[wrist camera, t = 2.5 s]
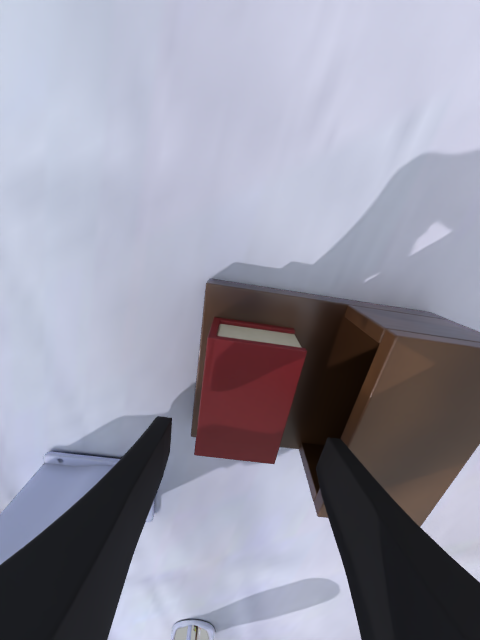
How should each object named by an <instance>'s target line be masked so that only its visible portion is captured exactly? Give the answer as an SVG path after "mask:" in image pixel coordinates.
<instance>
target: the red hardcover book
mask: <svg viewBox="0 0 480 640" xmlns="http://www.w3.org/2000/svg"><path fill="white" fill-rule="evenodd" d="M294 334H295V330H294V328H287V327H280V326H273V325H266V324H259V323H252V322H245V321H238V320H231V319H225V318H218V317H214V319H213V322H212V325H211V328H210V332H209V335H208V338H207V346H206V355H205V364H204V372H203V381H202V390H201V399H200V408H199V417H198V426H197V435H196V443H195V452H194V455H198V456H207V457H216V458H225V459H234V460H243V461H251V462H260V463H269V464H274V463H275V460H276V457H277V453H278V450H279V446H280V443H281V439H282V436H283V433H284V429H285V426H286V422H287V419H288V416H289V412H290V409H291V405H292V402H293V398H294V395H295V392H296V388H297V385H298V381H299V378H300V374H301V371H302V368H303V364H304V361H305V357H306V354H307V350H306V349H305V348H302V347H301V346H300V344H299V342H298V340H297V338H296V336H295V335H294Z"/></svg>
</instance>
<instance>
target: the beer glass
mask: <svg viewBox="0 0 480 640" xmlns="http://www.w3.org/2000/svg"><path fill="white" fill-rule="evenodd" d="M214 636H215V629H214V627H213V626H212V625H211V624H209V623H207V622H205V621H201V620H184V621H180V622H178V623H176V624H175V625H174V626H173V628H172V633H171V640H214Z"/></svg>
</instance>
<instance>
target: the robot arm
mask: <svg viewBox="0 0 480 640" xmlns="http://www.w3.org/2000/svg"><path fill="white" fill-rule="evenodd" d="M171 425H172V418H167V417H159V416H158V417H157V418H155V420H154V421H153V422H152V424H151V425H150V426H149V427H148V429H147V430H146V431H145V432H144V433H143V435H142V436H141V437H140V438H139V439H138V440H137V442H136V443H135V444H134V445H133V446H132V447H131V448H130V449H129V451H128V452H127V453H126V454H125V455H124V456H123V457H122V458H121V459H115V458H106V457H97V456H87V455H78V454H69V453H60V452H47V453H46V454H45V455H44V456H43V460H44V464H43V465H42V466H41V468H40V469H39V470H38V471H37V472H36V473H35V475H34V476H33V477H32V478H31V479H30V480H29V481H28V483H27V484H26V485H25V486H24V487H23V488H22V490H21V491H20V492H19V493H18V494H17V495H16V497H15V498H14V499H13V500H12V501H11V502H10V503H9V505H8V506H7V507H6V508H5V509H4V510H3V512H2V513H1V514H0V640H107V639H108V635H109V632H110V629H111V625H112V622H113V619H114V615H115V612H116V609H117V605H118V602H119V599H120V595H121V592H122V589H123V586H124V583H125V579H126V576H127V573H128V570H129V566H130V563H131V560H132V557H133V554H134V551H135V548H136V545H137V543H138V540H139V537H140V535H141V532H142V529H143V527H144V524H145V522H151V521H152V520H153V517H154V498H155V496H156V493H157V490H158V488H159V485H160V483H161V480H162V477H163V474H164V470H165V467H166V464H167V460H168V456H169V453H170V442H171ZM316 472H317V477H318V482H319V487H320V491H321V495H322V499H323V502H324V505H325V508H326V512H327V515H328V518H329V521H330V524H331V527H332V530H333V534H334V537H335V540H336V543H337V546H338V549H339V552H340V555H341V558H342V562H343V565H344V569H345V572H346V576H347V579H348V583H349V588H350V592H351V596H352V600H353V604H354V608H355V612H356V616H357V621H358V625H359V630H360V634H361V639H362V640H480V583H479V582H478V581H477V580H476V579H475V578H474V577H473V576H472V575H470V574H469V573H468V572H467V571H466V570H465V569H464V568H463V567H461V566H460V565H459V564H458V563H457V562H456V561H455V560H454V559H453V558H452V557H451V556H449V555H448V554H447V553H446V552H445V551H444V550H443V549H442V548H441V547H440V546H439V545H438V544H437V543H436V542H435V541H434V540H433V539H432V538H431V537H430V536H429V535H428V534H426V533H425V532H424V531H423V530H422V529H421V528H420V527H419V526H418V525H417V524H416V523H415V522H414V521H413V520H412V518H411V517H410V516H409V515H408V514H407V513H406V512H405V511H404V510H403V509H402V508H401V507H400V506H399V505H398V504H397V503H396V502H395V501H394V499H393V498H392V497H391V496H390V495H389V494H388V493H387V492H386V491H385V490H384V488H383V487H382V486H381V485H380V484H379V483H378V482H377V480H376V479H375V478H374V477H373V476H372V475H371V474H370V472H369V471H368V470H367V469H366V468H365V467H364V465H363V464H362V463H361V462H360V461H359V460H358V458H357V457H356V456H355V455H354V454H353V453H352V451H351V450H350V449H349V448H348V447H347V446H346V444H345V443H344V442H343V441H342V440H341V439H338V438H330V437H328V438H327V440H326V443H325V446H324V448H323V451H322V453H321V456H320V458H319V461H318V463H317V466H316Z"/></svg>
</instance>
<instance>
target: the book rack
mask: <svg viewBox="0 0 480 640" xmlns="http://www.w3.org/2000/svg"><path fill="white" fill-rule="evenodd" d="M214 317H218V318H225V319H231V320H238V321H245V322H252V323H259V324H266V325H273V326H280V327H287V328H294V330H295V334H294V335H295V336H296V338H297V340H298V342H299V344H300V346H301V347H302V348H305V349H306V350H307V354H306V357H305V361H304V364H303V368H302V371H301V374H300V378H299V381H298V385H297V388H296V392H295V395H294V398H293V402H292V405H291V409H290V412H289V416H288V419H287V422H286V426H285V429H284V433H283V436H282V439H281V443H280V446H279V447H285V448H293V449H299V451H300V455H301V458H302V462H303V466H304V469H305V473H306V477H307V480H308V484H309V488H310V491H311V495H312V498H313V502H314V505H315V509H316V512H317V516H318V517H326V518H328V515H327V512H326V508H325V505H324V502H323V499H322V495H321V491H320V487H319V482H318V477H317V472H316V466H317V463H318V461H319V458H320V456H321V453H322V451H323V448H324V446H325V443H326V440H327V438H328V437H330V438H338V439H341V440H342V441H343V442H344V443H345V444H346V446H347V447H348V448H349V449H350V450H351V451H352V453H353V454H354V455H355V456H356V457H357V458H358V460H359V461H360V462H361V463H362V464H363V465H364V467H365V468H366V469H367V470H368V471H369V472H370V474H371V475H372V476H373V477H374V478H375V479H376V480H377V482H378V483H379V484H380V485H381V486H382V487H383V488H384V490H385V491H386V492H387V493H388V494H389V495H390V496H391V497H392V498H393V499H394V501H395V502H396V503H397V504H398V505H399V506H400V507H401V508H402V509H403V510H404V511H405V512H406V513H407V514H408V515H409V516H410V517H411V518H412V520H413V521H414V522H415V523H416V524H417V525H418V526H419V527H420V526H421V525H422V524H423V522H424V521H425V520H426V518H427V517H428V515H429V514H430V513H431V511H432V510H433V508H434V507H435V506H436V504H437V503H438V501H439V500H440V499H441V497H442V496H443V494H444V493H445V492H446V490H447V489H448V487H449V486H450V485H451V483H452V482H453V480H454V479H455V478H456V476H457V475H458V473H459V472H460V471H461V469H462V468H463V467H464V465H465V464H466V462H467V461H468V460H469V458H470V457H471V455H472V454H473V453H474V451H475V450H476V448H477V447H478V446H479V444H480V332H478V331H475V330H473V329H470V328H468V327H465V326H463V325H460V324H458V323H455V322H453V321H450V320H448V319H446V318H443V317H441V316H438V315H436V314H433V313H431V312H425V311H418V310H411V309H405V308H398V307H392V306H385V305H379V304H372V303H366V302H359V301H353V300H346V299H340V298H333V297H327V296H320V295H314V294H307V293H301V292H294V291H288V290H281V289H275V288H268V287H261V286H255V285H248V284H242V283H235V282H229V281H222V280H216V279H209V280H208V282H207V283H206V290H205V300H204V310H203V320H202V330H201V339H200V349H199V359H198V369H197V379H196V389H195V399H194V409H193V419H192V429H191V437H196V435H197V426H198V417H199V408H200V399H201V390H202V381H203V372H204V364H205V355H206V346H207V338H208V335H209V332H210V328H211V325H212V322H213V319H214Z"/></svg>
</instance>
